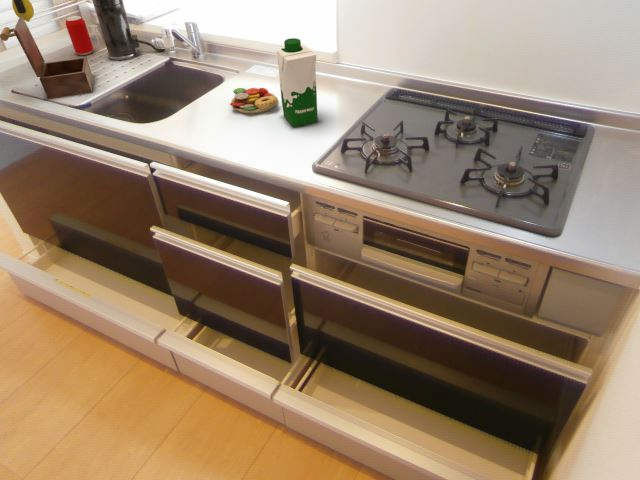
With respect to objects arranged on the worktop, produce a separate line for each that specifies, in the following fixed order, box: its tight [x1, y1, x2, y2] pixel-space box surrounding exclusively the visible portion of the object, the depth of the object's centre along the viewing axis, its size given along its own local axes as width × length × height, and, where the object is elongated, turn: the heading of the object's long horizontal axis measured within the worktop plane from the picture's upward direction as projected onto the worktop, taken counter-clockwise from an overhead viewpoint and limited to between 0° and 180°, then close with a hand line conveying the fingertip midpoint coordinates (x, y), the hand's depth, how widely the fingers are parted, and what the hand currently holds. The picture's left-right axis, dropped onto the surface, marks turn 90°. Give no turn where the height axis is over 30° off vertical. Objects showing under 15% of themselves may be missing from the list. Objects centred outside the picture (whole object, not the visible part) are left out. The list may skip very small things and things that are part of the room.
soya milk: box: [276, 37, 319, 129], centre depth 129 cm, size 9×9×20 cm
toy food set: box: [229, 87, 279, 115], centre depth 141 cm, size 13×13×3 cm
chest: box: [39, 56, 94, 100], centre depth 155 cm, size 13×13×6 cm
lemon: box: [11, 0, 35, 23], centre depth 157 cm, size 6×6×8 cm
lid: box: [0, 17, 46, 78], centre depth 147 cm, size 13×13×6 cm
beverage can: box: [65, 15, 94, 56], centre depth 176 cm, size 6×6×12 cm
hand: (24, 9), depth 158 cm, fingers closed on lemon, 5 cm apart
